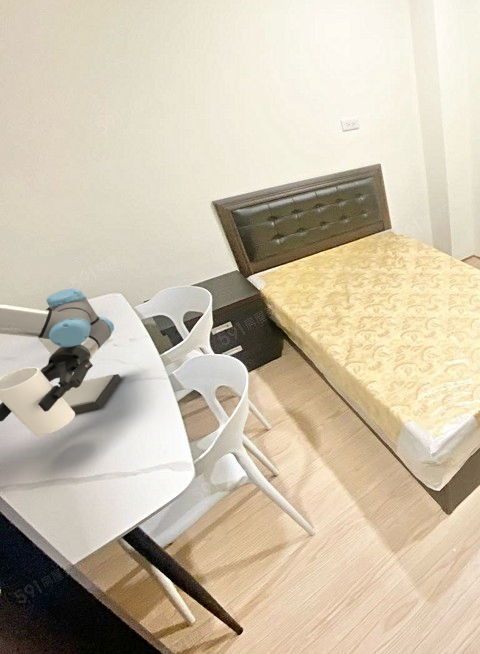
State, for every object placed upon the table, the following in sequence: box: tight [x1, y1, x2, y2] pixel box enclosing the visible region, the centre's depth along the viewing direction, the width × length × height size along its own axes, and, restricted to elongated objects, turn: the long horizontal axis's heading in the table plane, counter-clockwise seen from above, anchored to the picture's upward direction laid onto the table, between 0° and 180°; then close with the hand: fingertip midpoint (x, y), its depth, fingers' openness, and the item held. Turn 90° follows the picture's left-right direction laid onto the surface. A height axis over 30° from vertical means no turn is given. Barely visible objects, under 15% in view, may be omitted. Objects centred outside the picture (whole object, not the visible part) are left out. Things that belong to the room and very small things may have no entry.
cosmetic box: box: [37, 338, 60, 356], centre depth 143 cm, size 6×4×12 cm
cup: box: [0, 366, 76, 437], centre depth 101 cm, size 8×8×16 cm
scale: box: [62, 373, 123, 416], centre depth 126 cm, size 14×14×3 cm
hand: (20, 412), depth 97 cm, fingers closed on cup, 8 cm apart
